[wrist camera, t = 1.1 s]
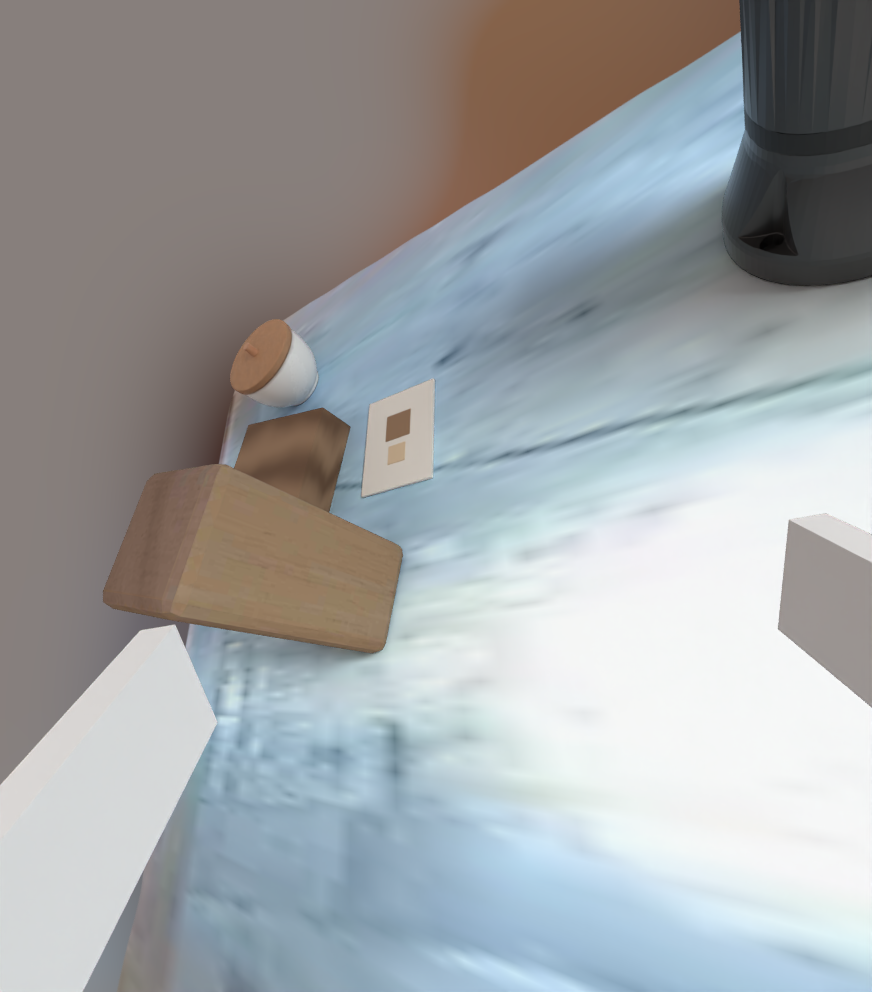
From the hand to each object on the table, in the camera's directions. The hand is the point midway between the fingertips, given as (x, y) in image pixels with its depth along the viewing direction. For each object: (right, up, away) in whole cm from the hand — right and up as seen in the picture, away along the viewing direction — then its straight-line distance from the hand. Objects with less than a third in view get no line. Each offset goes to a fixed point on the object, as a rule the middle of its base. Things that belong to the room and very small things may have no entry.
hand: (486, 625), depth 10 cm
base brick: (-18, +4, +48) cm, 51 cm away
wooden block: (-8, -7, +36) cm, 37 cm away
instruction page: (-5, +9, +40) cm, 42 cm away
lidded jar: (-20, +18, +56) cm, 61 cm away
